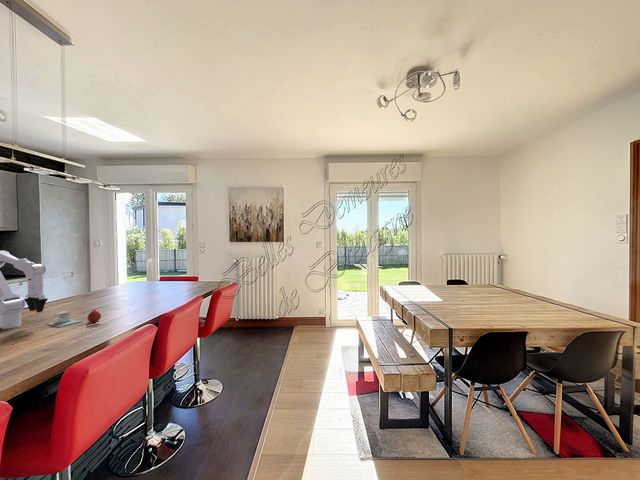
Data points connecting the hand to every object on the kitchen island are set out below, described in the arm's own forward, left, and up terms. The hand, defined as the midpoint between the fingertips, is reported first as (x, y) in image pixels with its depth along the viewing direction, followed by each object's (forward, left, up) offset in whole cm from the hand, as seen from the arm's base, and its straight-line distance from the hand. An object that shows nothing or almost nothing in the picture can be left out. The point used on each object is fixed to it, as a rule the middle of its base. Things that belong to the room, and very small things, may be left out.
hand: (36, 311), depth 146 cm
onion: (+20, +17, -10) cm, 28 cm away
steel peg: (+5, +9, -10) cm, 14 cm away
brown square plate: (+2, -1, -9) cm, 10 cm away
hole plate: (+7, +9, -9) cm, 15 cm away
